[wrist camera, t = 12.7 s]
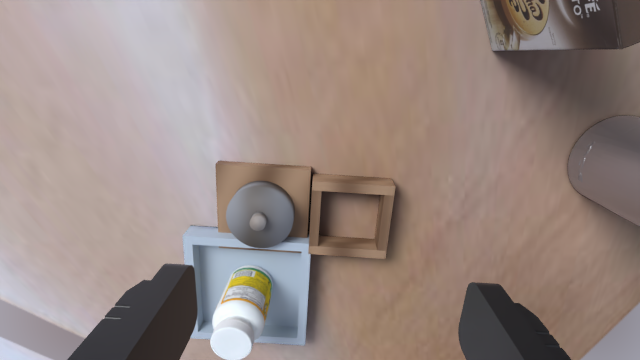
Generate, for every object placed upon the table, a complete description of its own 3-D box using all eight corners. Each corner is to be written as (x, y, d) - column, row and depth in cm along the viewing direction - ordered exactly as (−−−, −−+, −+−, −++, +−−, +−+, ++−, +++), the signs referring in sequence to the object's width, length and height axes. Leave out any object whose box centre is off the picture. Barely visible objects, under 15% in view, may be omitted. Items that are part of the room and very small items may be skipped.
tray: (312, 233, 41) (311, 244, 39) (306, 330, 46) (305, 345, 43) (191, 225, 41) (182, 235, 39) (197, 323, 46) (190, 338, 43)
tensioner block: (392, 172, 38) (400, 186, 34) (381, 252, 42) (387, 274, 37) (218, 160, 38) (205, 173, 34) (221, 242, 42) (209, 263, 37)
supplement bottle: (247, 255, 41) (225, 311, 32) (282, 281, 43) (271, 342, 33) (220, 284, 43) (191, 346, 34) (255, 308, 44) (237, 374, 35)
